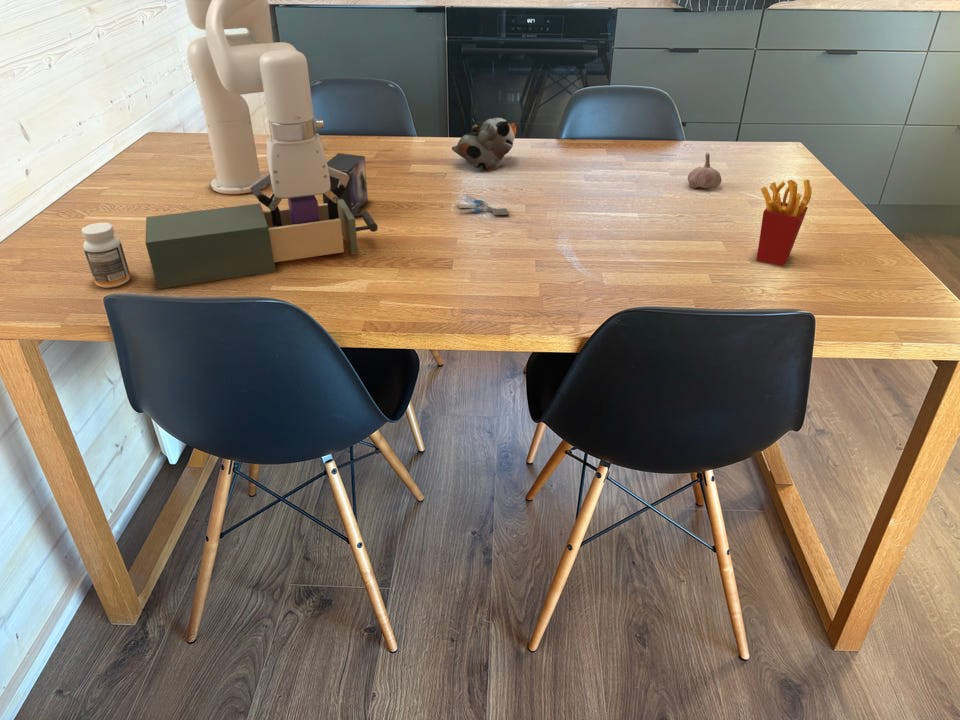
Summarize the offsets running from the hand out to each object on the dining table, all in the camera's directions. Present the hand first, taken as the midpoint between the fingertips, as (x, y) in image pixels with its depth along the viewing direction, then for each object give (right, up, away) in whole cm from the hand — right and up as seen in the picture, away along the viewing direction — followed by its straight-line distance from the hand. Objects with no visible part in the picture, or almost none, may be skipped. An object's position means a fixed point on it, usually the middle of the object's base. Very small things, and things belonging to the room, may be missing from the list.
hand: (306, 224), depth 128 cm
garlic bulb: (+84, +16, +35) cm, 92 cm away
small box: (+3, +7, +22) cm, 23 cm away
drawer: (+1, -4, +3) cm, 5 cm away
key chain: (+31, +7, +22) cm, 39 cm away
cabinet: (-16, -8, -2) cm, 18 cm away
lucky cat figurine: (+33, +25, +48) cm, 63 cm away
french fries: (+87, -5, +4) cm, 87 cm away
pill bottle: (-32, -11, -7) cm, 34 cm away
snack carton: (0, -3, +2) cm, 4 cm away
